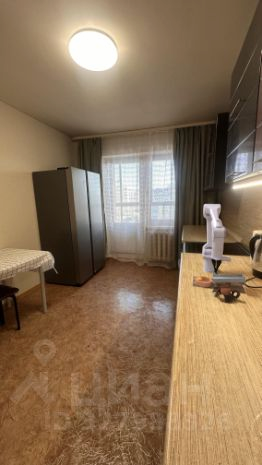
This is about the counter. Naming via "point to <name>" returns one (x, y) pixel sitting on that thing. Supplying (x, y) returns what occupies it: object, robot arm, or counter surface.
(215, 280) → the lever
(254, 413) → the counter surface
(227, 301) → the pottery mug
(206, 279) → the orange bowl
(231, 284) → the base
